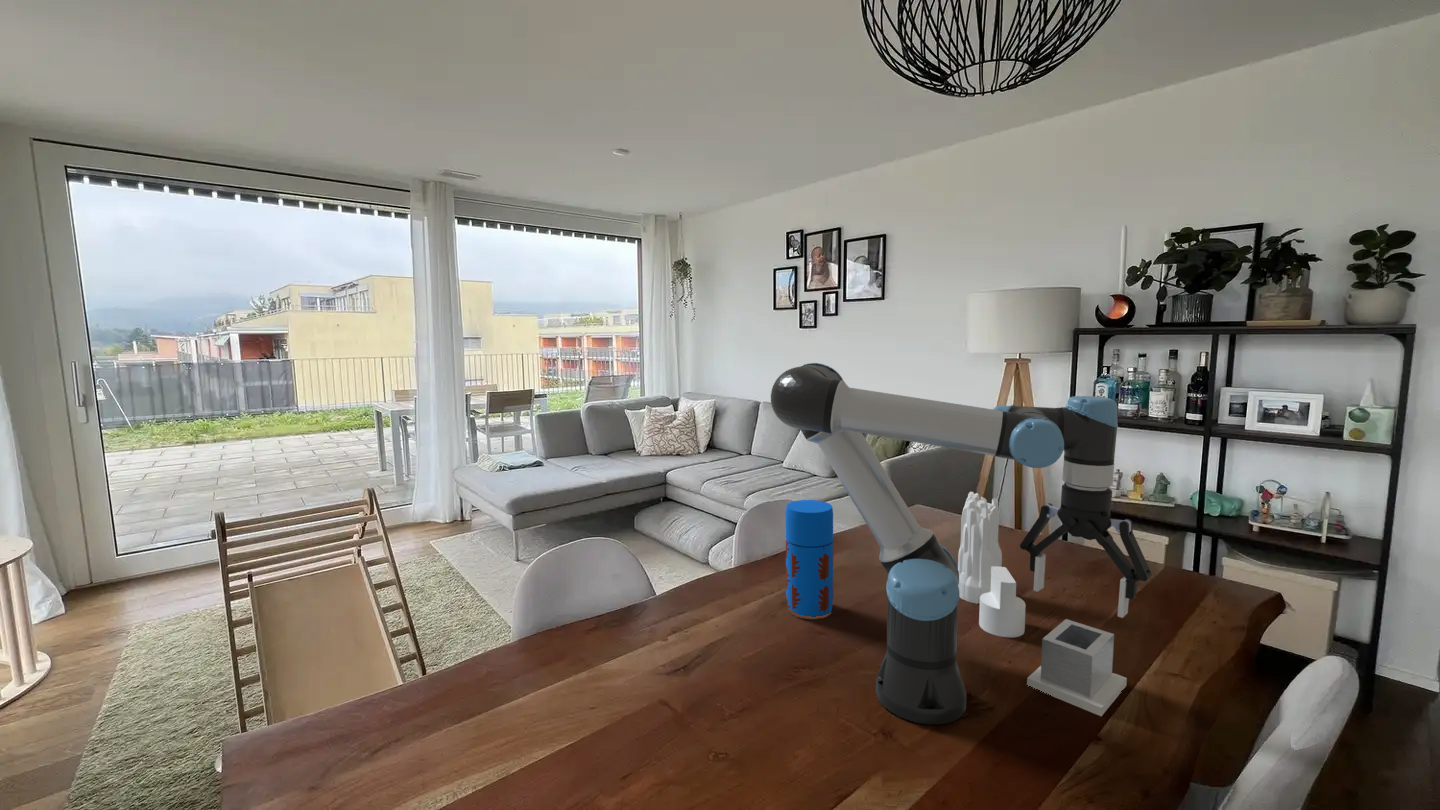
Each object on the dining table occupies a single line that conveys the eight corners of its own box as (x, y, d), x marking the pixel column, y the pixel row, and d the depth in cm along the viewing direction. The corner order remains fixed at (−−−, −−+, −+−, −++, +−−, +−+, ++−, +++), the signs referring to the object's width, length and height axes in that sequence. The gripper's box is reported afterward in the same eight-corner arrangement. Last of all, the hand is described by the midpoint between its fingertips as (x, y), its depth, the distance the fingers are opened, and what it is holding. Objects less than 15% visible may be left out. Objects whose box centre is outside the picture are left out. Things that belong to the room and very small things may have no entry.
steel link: (1090, 700, 102) (1092, 656, 101) (1040, 680, 108) (1042, 638, 108) (1111, 675, 110) (1114, 634, 109) (1064, 658, 116) (1066, 618, 115)
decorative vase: (1010, 604, 142) (1014, 501, 139) (965, 605, 142) (968, 501, 139) (991, 585, 153) (994, 489, 150) (948, 585, 153) (951, 489, 150)
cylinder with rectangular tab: (1029, 639, 126) (1032, 584, 125) (984, 635, 128) (985, 581, 126) (1017, 619, 135) (1019, 567, 133) (975, 616, 137) (976, 565, 135)
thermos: (831, 600, 146) (831, 499, 143) (835, 620, 136) (835, 513, 133) (786, 599, 147) (785, 499, 144) (786, 619, 137) (785, 512, 134)
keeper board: (1101, 716, 101) (1103, 677, 100) (1026, 685, 110) (1028, 649, 109) (1126, 685, 109) (1128, 649, 108) (1055, 659, 118) (1056, 625, 117)
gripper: (1180, 496, 98) (1169, 619, 101) (1022, 469, 117) (1016, 574, 119) (1167, 504, 93) (1156, 634, 96) (1004, 476, 112) (999, 585, 114)
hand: (1078, 601), depth 108 cm, fingers open, 13 cm apart
